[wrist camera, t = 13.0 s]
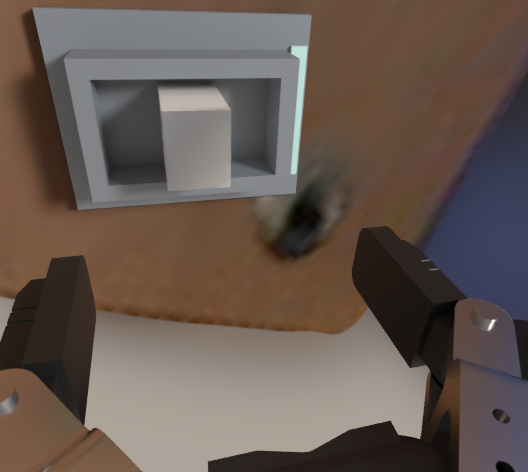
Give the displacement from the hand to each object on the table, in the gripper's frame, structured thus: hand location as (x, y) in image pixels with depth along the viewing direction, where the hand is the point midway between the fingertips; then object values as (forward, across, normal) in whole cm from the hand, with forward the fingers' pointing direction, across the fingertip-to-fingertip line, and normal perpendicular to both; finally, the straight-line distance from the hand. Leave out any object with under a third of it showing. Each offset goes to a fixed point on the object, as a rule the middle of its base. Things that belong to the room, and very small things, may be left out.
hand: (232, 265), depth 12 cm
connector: (+22, -1, +2) cm, 22 cm away
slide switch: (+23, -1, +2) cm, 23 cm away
